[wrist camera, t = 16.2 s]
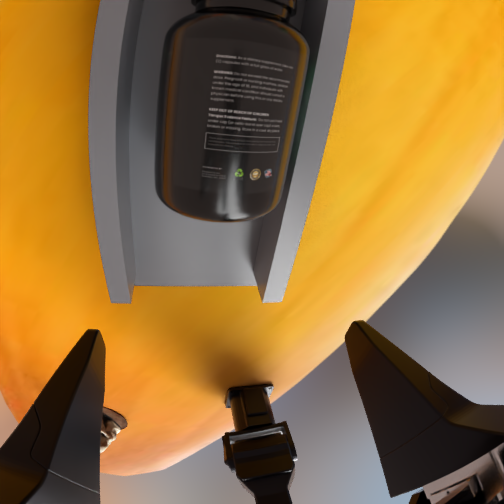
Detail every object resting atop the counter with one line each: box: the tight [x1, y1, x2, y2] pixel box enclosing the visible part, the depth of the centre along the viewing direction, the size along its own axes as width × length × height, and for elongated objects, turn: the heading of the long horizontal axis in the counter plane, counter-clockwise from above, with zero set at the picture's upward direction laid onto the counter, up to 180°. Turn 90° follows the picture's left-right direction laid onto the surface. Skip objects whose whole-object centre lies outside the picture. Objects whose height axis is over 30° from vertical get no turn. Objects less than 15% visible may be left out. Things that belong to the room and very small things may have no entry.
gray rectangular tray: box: [88, 0, 355, 303], centre depth 15 cm, size 25×13×4 cm, turn 170°
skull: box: [100, 408, 127, 453], centre depth 37 cm, size 12×10×10 cm
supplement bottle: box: [154, 0, 310, 223], centre depth 12 cm, size 7×7×12 cm
